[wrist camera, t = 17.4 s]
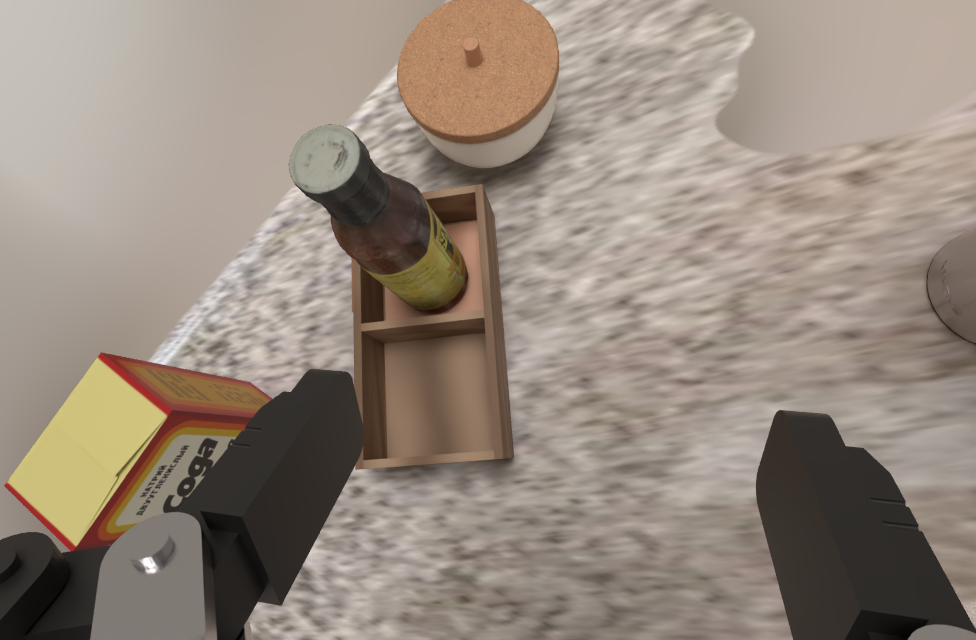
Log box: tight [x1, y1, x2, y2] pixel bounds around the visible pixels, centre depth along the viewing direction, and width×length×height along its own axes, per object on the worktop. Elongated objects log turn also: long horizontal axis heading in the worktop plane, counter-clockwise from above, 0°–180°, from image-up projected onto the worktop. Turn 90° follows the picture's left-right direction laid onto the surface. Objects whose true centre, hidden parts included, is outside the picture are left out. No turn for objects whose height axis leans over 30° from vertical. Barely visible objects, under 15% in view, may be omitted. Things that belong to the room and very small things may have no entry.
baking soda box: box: [4, 353, 272, 551], centre depth 40 cm, size 10×6×16 cm
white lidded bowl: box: [397, 0, 559, 168], centre depth 45 cm, size 13×13×11 cm
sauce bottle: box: [289, 124, 468, 313], centre depth 37 cm, size 7×6×20 cm
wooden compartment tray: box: [352, 184, 514, 470], centre depth 44 cm, size 11×21×6 cm, turn 4°
